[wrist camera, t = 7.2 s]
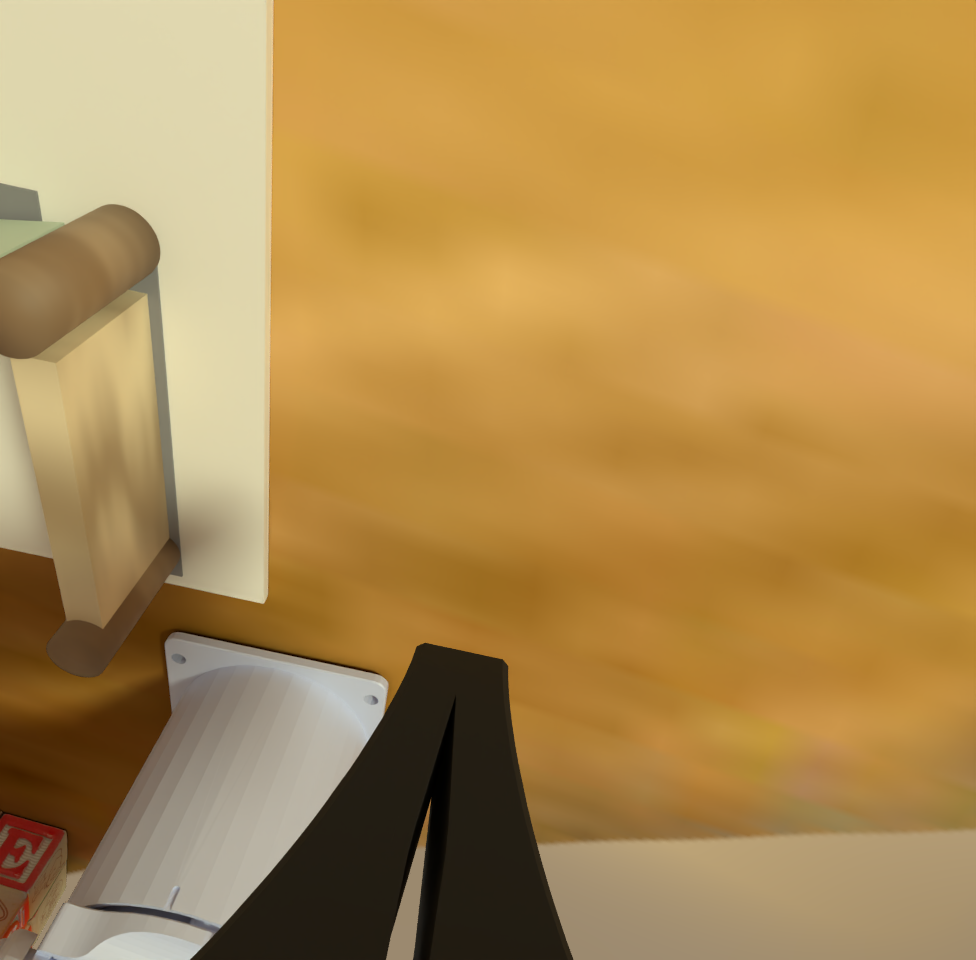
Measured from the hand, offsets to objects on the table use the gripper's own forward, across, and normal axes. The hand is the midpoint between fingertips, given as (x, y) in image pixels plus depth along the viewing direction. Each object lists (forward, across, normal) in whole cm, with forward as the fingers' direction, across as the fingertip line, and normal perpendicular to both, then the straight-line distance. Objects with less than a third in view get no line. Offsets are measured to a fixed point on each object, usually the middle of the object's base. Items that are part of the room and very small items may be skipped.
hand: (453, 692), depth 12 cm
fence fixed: (+9, +10, +3) cm, 14 cm away
